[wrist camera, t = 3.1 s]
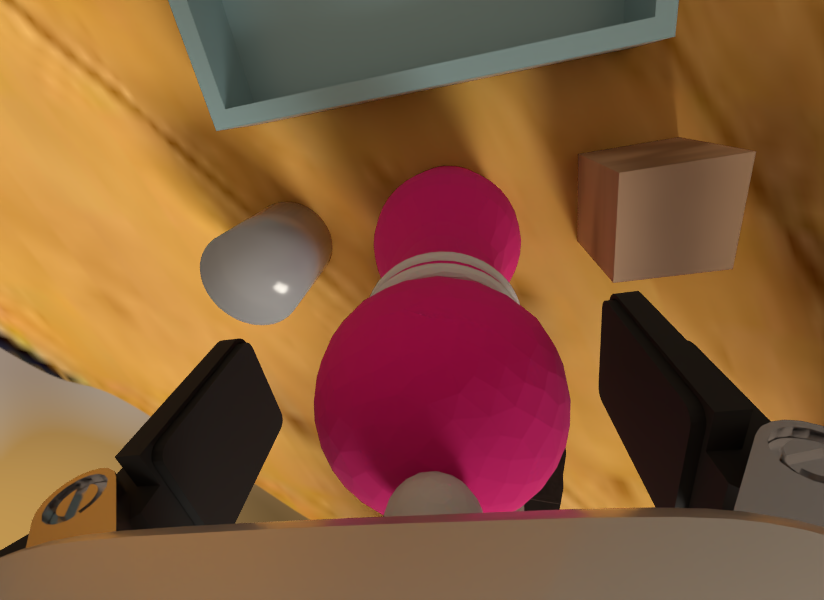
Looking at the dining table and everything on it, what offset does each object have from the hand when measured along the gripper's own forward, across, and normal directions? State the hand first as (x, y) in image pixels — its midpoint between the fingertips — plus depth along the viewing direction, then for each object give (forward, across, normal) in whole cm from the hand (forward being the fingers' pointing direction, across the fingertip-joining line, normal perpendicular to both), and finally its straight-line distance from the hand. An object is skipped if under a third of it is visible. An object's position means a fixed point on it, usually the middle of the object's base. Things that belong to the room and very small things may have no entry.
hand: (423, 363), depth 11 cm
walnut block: (+15, -11, 0) cm, 18 cm away
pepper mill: (+15, -1, 0) cm, 15 cm away
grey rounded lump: (+15, +9, 0) cm, 18 cm away
